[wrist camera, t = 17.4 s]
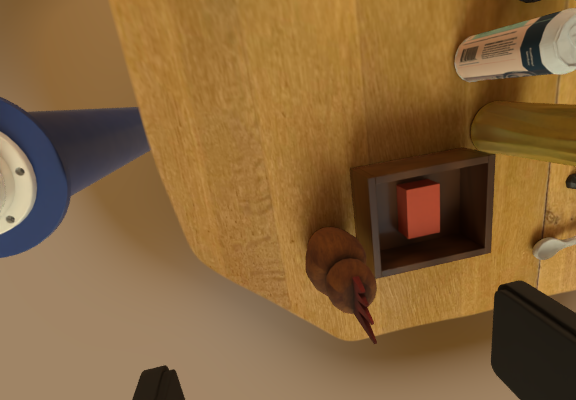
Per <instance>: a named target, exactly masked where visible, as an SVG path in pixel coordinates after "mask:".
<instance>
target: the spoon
mask: <svg viewBox="0 0 576 400" xmlns="http://www.w3.org/2000/svg"><path fill="white" fill-rule="evenodd" d="M575 244H576V236H574V237H572V238H569V239H564V240H559V239H556V238H552V237H548V238H544V239H541V240H540V241H538V242H537V243H536V244H535V245H534V247H533V255H534V256H535V257H536V258H538V259H541V260H545V259H549V258H551V257H552V256H554V255H555V254H556V253H557V252H558V251H559V250H561V249H563V248H566V247H568V246H572V245H575Z"/></svg>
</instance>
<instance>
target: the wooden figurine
mask: <svg viewBox="0 0 576 400" xmlns="http://www.w3.org/2000/svg"><path fill="white" fill-rule="evenodd" d="M306 273H307V275H308V277H309V279H310V280H311V282H312V283H313V285H314V286H315V288H316V289H317V290H319V291H320V292H322V293H323V294H325V295H327V296H328V297H329V299H330V300H331V302H332V303H333V305H334V306H335V307H336V308H338V309H339V310H341V311H343V312H345V313H350V314H353V313H354V315H355V316H356V318H357V319H358V321H359V322H360V324H361V325H362V327H363V328H364V330H365V331H366V333H367V334H368V336H369V337H370V339H371V340H372V341H373V343H374V344H376V343H377V341H376V339H375V336H374V334H373V331H372V328H371V326H370V324H371V325H372V324H374V322H373V319H372V317H371V315H370V313H369V311H368V308H367V307H368V306H369V305H370V304H371V303H372V302H373V300H374V298H375V294H376V289H377V287H376V280H375V277H374V275H373V273H372V271H371V270H370V268H369V267H368V266H367V265H366V252H365V250H364V248H363V247H362V245H361V243H360V242H359V240H358V239H357V238H355V237H354V236H353V235H351V234H349V233H348V232H346V231H344V230H342V229H339V228H334V227H325V228H321V229H319V230H318V231H316V232H315V233H314V234H313V235H312V237H311V238H310V240H309V243H308V247H307V252H306Z"/></svg>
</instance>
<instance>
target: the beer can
mask: <svg viewBox="0 0 576 400" xmlns="http://www.w3.org/2000/svg"><path fill="white" fill-rule="evenodd" d="M454 63H455V69H456V72H457V74H458V75H459V77H460V78H461V79H463V80H465V81H467V82H476V81H480V80H491V79H502V78H513V77H524V76H536V75H547V74H567V73H569V72H572V71H574V70H575V69H576V8H569V9H566V10H563V11H560V12H556V13H553V14H549V15H545V16H542V17H538V18H535V19H531V20H527V21H524V22H520V23H517V24H513V25H509V26H506V27H502V28H499V29H495V30H492V31H488V32H484V33H481V34H477V35H473V36H470V37H468V38H467V39H466V40H464V41H463V42H462V43H461V44H460V46H459V48H458V49H457V52H456V55H455V62H454Z"/></svg>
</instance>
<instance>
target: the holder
mask: <svg viewBox="0 0 576 400" xmlns="http://www.w3.org/2000/svg"><path fill="white" fill-rule="evenodd" d="M350 175H351V186H352V197H353V208H354V218H355V229H356V238H357V239H358V240H359V242H360V243H361V245H362V247H363V248H364V250H365V252H366V265H367V266H368V267H369V268H370V270H371V271H372V273H373V275H374V277H375V279H377V278H381V277H386V276H391V275H395V274H399V273H404V272H408V271H413V270H417V269H421V268H426V267H430V266H435V265H439V264H443V263H448V262H452V261H457V260H461V259H465V258H470V257H474V256H479V255H483V254H487V253H491V239H492V218H493V197H494V175H495V154H492V153H487V152H482V151H477V150H472V149H467V148H457V149H451V150H446V151H441V152H435V153H430V154H425V155H419V156H414V157H409V158H403V159H398V160H392V161H387V162H382V163H376V164H371V165H366V166H360V167H355V168H350ZM425 179H429V180H432V181H434V182H437V183H440V232H439V233H434V234H429V235H425V236H420V237H416V238H411V239H408V238H406V237H405V236H404V235H403V234H401V233H400V232H399V229H398V209H397V188H396V185H399V184H404V183H409V182H414V181H420V180H425Z"/></svg>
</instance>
